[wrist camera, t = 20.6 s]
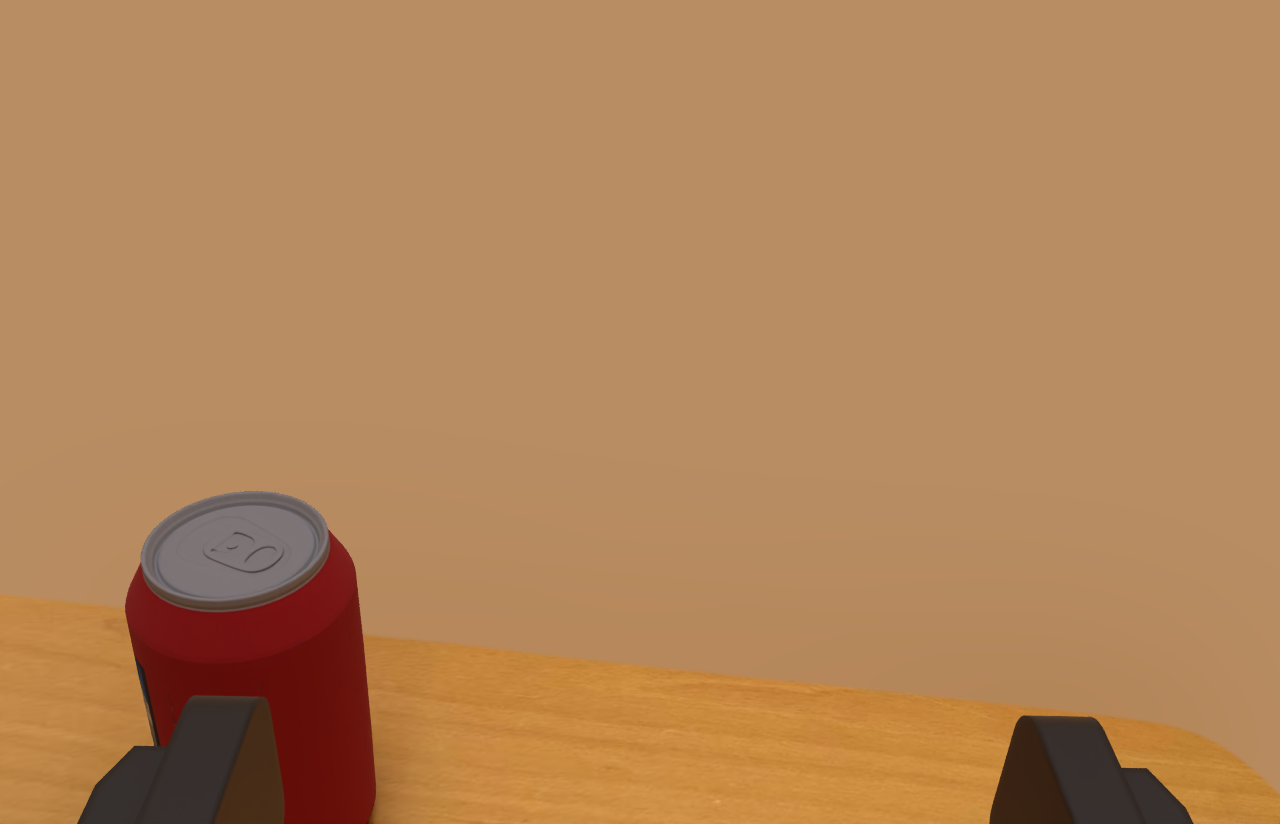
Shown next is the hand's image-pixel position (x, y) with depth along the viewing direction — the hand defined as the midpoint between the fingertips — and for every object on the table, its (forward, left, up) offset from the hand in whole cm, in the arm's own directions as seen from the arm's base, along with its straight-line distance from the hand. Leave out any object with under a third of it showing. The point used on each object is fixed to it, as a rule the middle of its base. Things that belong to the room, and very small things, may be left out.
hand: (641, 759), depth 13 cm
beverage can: (+18, -13, -25) cm, 33 cm away
